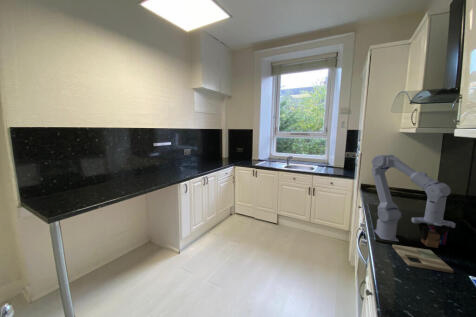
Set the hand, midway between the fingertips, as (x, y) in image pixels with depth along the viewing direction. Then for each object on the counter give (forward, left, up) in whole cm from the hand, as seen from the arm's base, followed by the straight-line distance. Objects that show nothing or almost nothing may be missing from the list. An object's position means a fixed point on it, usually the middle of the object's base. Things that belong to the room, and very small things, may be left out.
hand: (429, 239), depth 87 cm
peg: (0, 0, -2) cm, 2 cm away
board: (+2, -4, -8) cm, 10 cm away
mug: (-19, +14, -8) cm, 25 cm away
